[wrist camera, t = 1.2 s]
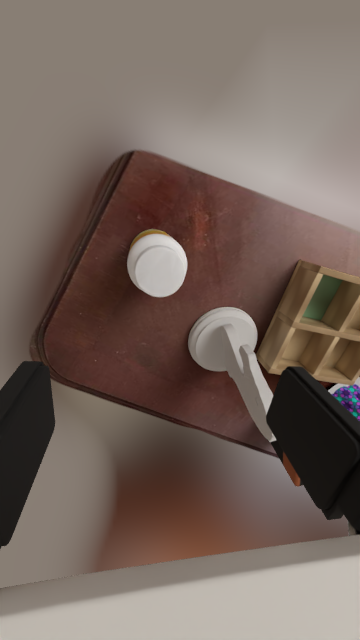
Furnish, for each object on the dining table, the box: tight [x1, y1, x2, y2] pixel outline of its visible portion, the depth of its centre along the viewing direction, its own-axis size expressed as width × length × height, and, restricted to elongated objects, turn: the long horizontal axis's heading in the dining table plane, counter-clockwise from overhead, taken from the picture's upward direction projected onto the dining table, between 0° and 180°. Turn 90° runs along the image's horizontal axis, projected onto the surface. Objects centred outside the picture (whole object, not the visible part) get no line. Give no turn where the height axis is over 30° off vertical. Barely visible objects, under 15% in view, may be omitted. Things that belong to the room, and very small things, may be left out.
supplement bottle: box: [127, 229, 187, 297], centre depth 23 cm, size 5×5×10 cm
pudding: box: [328, 377, 360, 421], centre depth 40 cm, size 12×12×5 cm
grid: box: [256, 260, 360, 386], centre depth 33 cm, size 15×15×4 cm
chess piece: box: [188, 307, 276, 442], centre depth 27 cm, size 10×10×15 cm
